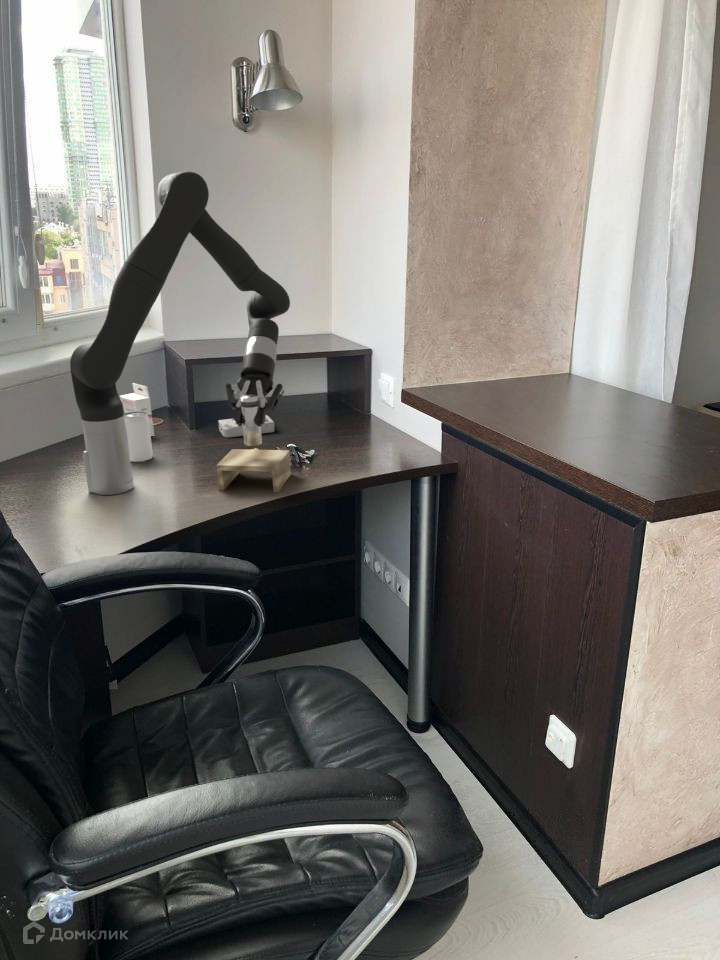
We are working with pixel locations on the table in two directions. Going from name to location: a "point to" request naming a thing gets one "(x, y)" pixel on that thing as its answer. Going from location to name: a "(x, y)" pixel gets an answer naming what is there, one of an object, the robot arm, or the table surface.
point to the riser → (254, 465)
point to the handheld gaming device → (236, 430)
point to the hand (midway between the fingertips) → (249, 424)
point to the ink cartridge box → (138, 403)
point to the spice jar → (250, 420)
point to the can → (138, 436)
